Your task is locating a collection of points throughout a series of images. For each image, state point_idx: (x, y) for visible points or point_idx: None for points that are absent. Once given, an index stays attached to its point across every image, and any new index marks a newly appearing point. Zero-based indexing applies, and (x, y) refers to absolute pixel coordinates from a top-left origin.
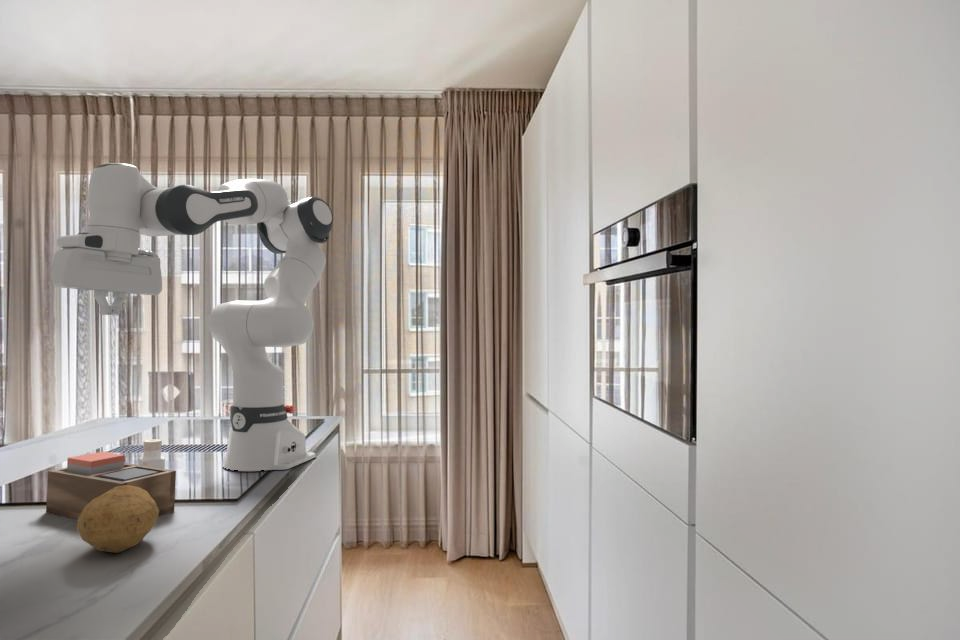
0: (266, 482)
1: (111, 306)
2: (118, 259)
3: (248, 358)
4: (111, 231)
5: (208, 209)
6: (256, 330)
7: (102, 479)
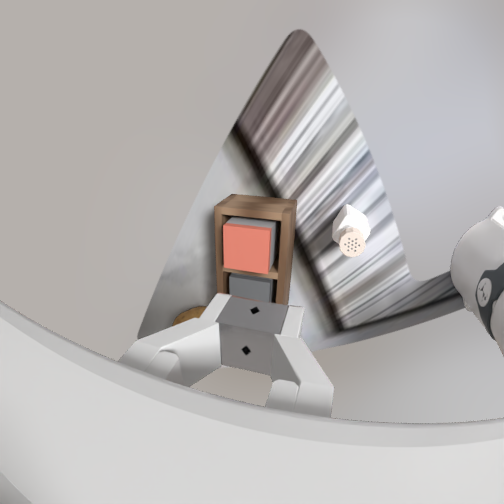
0: (411, 319)
1: (236, 366)
2: None
3: None
4: None
5: None
6: None
7: (219, 290)
